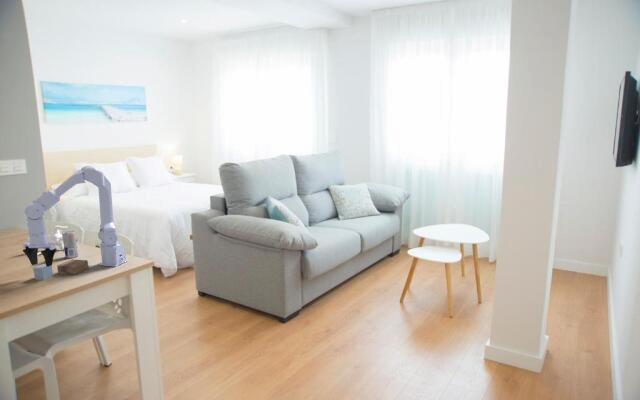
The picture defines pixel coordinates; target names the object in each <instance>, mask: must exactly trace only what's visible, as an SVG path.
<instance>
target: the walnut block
mask: <svg viewBox="0 0 640 400" xmlns="http://www.w3.org/2000/svg"><path fill="white" fill-rule="evenodd" d="M56 267H57V273H58V275H67V276H68V275H71V276H75V275H78V274H79V273H80V274H81V273H82V272H85V271H86V270H88V269H89V262H88V260H87V259H75V258H70V259H69V260H67V261H65V262H62V263H60V264H58V265H56Z"/></svg>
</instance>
